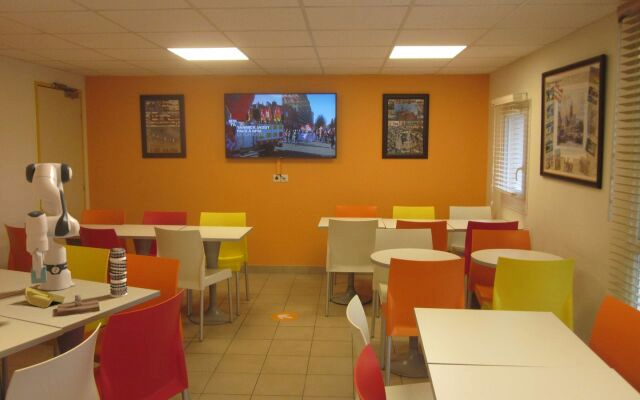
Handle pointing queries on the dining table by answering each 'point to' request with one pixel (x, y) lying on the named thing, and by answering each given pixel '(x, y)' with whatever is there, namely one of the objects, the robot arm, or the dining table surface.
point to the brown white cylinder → (118, 272)
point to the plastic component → (41, 297)
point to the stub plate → (78, 307)
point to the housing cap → (39, 280)
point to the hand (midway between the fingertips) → (38, 276)
